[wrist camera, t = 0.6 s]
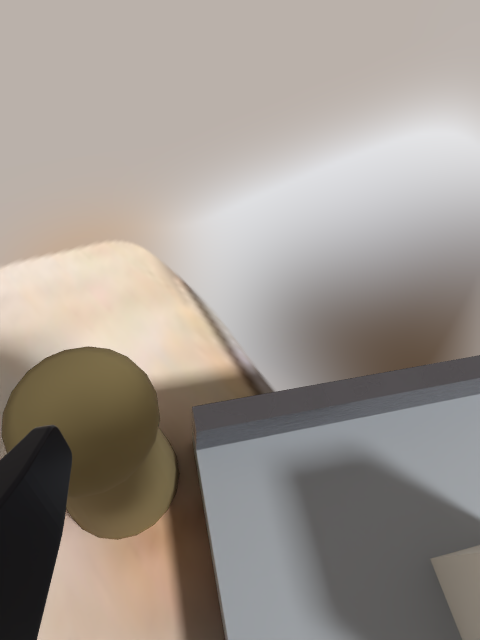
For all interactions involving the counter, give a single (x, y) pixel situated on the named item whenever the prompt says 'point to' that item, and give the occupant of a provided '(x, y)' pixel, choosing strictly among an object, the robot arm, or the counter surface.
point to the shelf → (342, 503)
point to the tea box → (461, 588)
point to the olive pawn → (100, 437)
